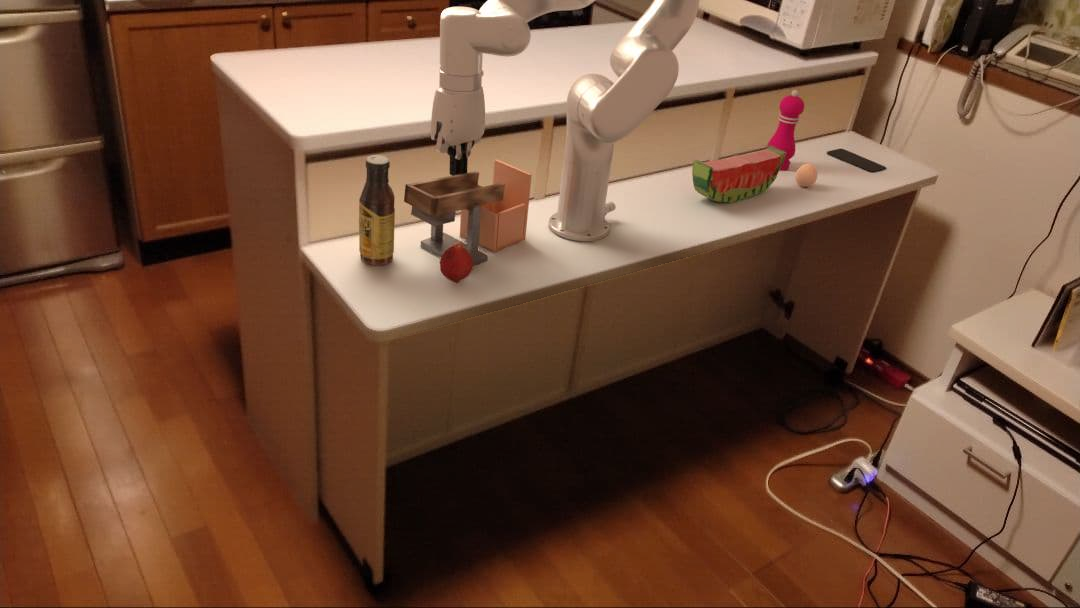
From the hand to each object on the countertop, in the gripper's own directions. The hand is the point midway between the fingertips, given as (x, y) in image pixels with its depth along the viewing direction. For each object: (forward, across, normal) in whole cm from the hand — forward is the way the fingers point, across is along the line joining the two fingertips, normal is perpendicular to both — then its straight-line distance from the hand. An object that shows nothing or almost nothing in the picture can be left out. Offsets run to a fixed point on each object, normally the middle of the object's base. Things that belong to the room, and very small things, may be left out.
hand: (458, 175), depth 159 cm
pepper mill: (+15, -93, +22) cm, 97 cm away
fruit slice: (+14, -65, +26) cm, 71 cm away
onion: (+13, +13, +14) cm, 23 cm away
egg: (+15, -86, +34) cm, 93 cm away
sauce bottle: (+12, +19, -2) cm, 23 cm away
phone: (+16, -116, +34) cm, 122 cm away
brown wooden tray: (+4, +7, +4) cm, 8 cm away
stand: (+12, +6, +6) cm, 15 cm away
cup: (+13, -4, +6) cm, 14 cm away
